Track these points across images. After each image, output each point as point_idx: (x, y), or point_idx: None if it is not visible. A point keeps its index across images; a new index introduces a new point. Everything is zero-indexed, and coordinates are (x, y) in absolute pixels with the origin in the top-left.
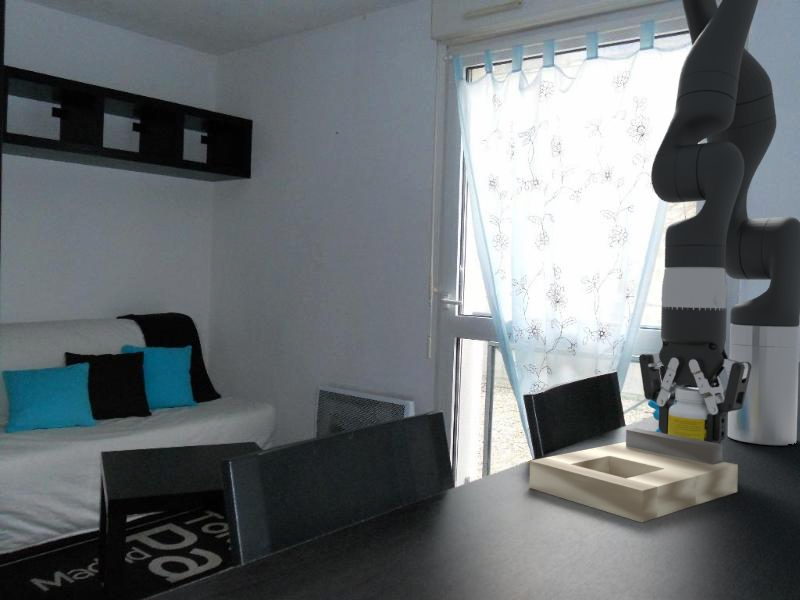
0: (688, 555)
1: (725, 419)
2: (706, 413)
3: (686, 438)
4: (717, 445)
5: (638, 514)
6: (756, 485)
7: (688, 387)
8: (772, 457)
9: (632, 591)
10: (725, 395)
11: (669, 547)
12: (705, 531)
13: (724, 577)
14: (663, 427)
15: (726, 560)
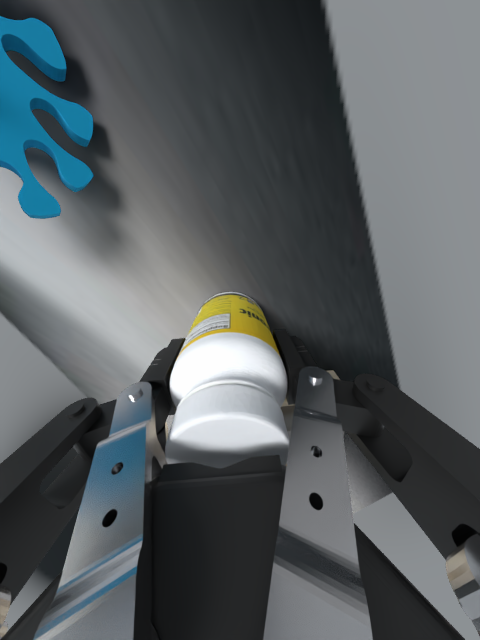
0: (360, 481)
1: (315, 365)
2: (283, 401)
3: (288, 434)
4: (343, 434)
5: None
6: (338, 326)
7: (180, 438)
8: (268, 23)
9: (357, 510)
10: (375, 466)
11: None
12: (353, 456)
13: (385, 485)
14: None
15: None
